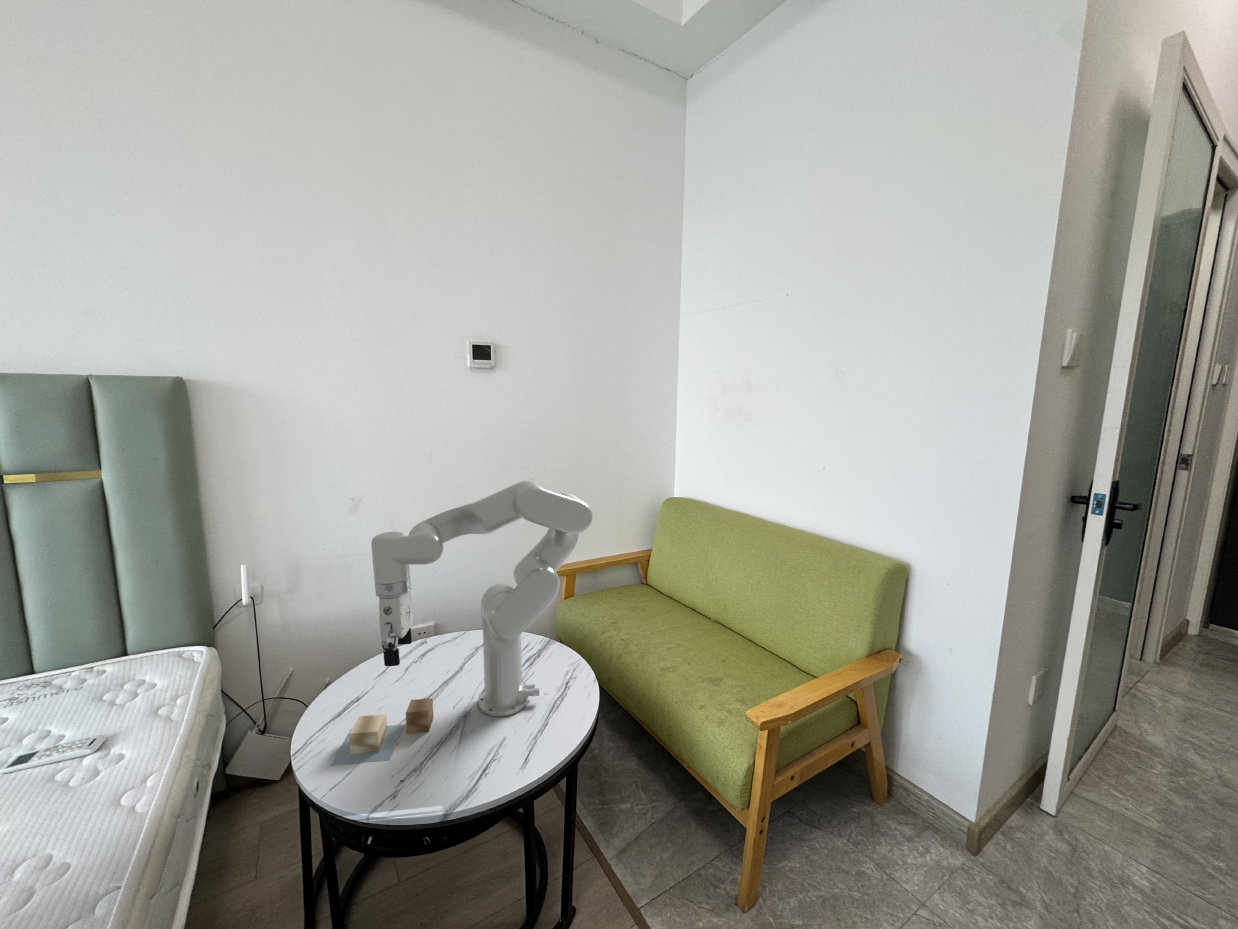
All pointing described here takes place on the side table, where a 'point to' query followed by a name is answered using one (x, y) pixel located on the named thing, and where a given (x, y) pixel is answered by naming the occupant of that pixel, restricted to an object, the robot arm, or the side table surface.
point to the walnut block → (419, 715)
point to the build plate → (382, 755)
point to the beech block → (368, 734)
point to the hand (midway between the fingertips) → (398, 654)
